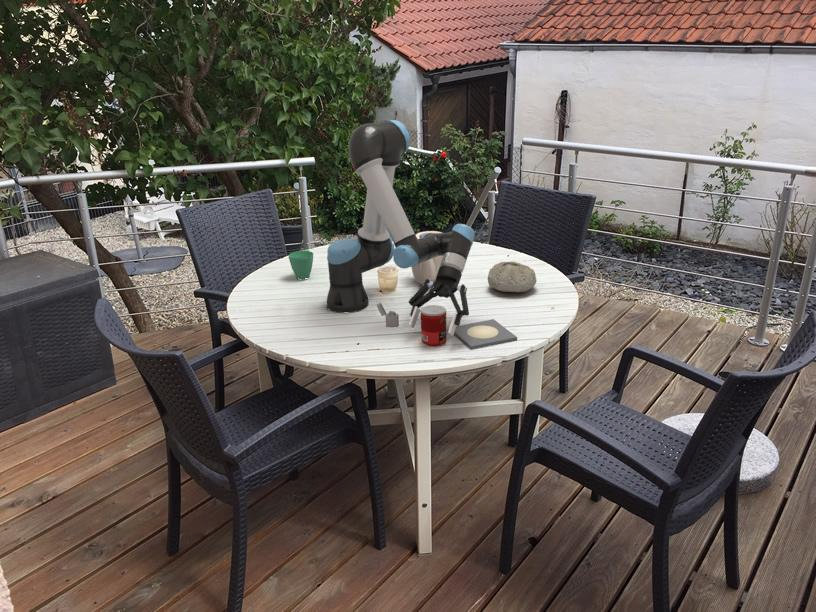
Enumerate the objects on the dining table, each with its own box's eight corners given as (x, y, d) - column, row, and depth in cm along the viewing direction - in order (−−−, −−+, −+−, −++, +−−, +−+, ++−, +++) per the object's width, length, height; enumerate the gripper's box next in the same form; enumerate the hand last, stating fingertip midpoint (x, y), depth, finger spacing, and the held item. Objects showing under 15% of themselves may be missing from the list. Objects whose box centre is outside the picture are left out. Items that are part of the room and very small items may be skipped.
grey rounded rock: (533, 281, 263) (534, 256, 259) (538, 298, 246) (539, 272, 243) (486, 282, 264) (486, 257, 261) (488, 298, 248) (488, 272, 244)
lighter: (399, 325, 228) (398, 303, 225) (397, 327, 227) (396, 305, 224) (378, 324, 230) (377, 302, 227) (377, 326, 228) (375, 304, 225)
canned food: (444, 347, 211) (444, 314, 207) (419, 346, 213) (418, 313, 208) (448, 337, 218) (447, 305, 214) (423, 336, 219) (422, 304, 215)
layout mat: (470, 349, 209) (470, 346, 209) (449, 330, 223) (449, 327, 223) (517, 340, 214) (517, 336, 214) (493, 321, 228) (493, 318, 228)
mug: (312, 282, 271) (309, 258, 268) (288, 282, 272) (285, 258, 269) (320, 270, 285) (318, 247, 281) (297, 270, 286) (295, 247, 282)
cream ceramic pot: (404, 294, 255) (402, 245, 248) (416, 270, 280) (415, 226, 273) (445, 295, 253) (445, 246, 245) (454, 271, 277) (454, 226, 270)
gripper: (490, 280, 215) (471, 341, 209) (420, 270, 227) (400, 328, 221) (483, 269, 209) (463, 332, 203) (412, 259, 221) (391, 319, 214)
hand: (430, 330), depth 212 cm, fingers open, 13 cm apart
